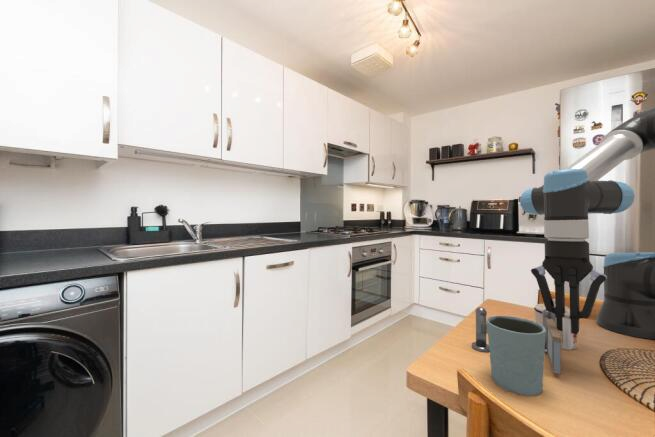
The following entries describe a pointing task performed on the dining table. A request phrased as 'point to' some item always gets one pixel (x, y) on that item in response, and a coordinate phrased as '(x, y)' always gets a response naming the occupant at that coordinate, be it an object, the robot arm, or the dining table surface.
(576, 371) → the dining table surface
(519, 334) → the blue-grey pot
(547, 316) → the hinge post
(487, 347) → the post
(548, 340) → the gate
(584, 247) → the robot arm
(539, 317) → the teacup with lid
